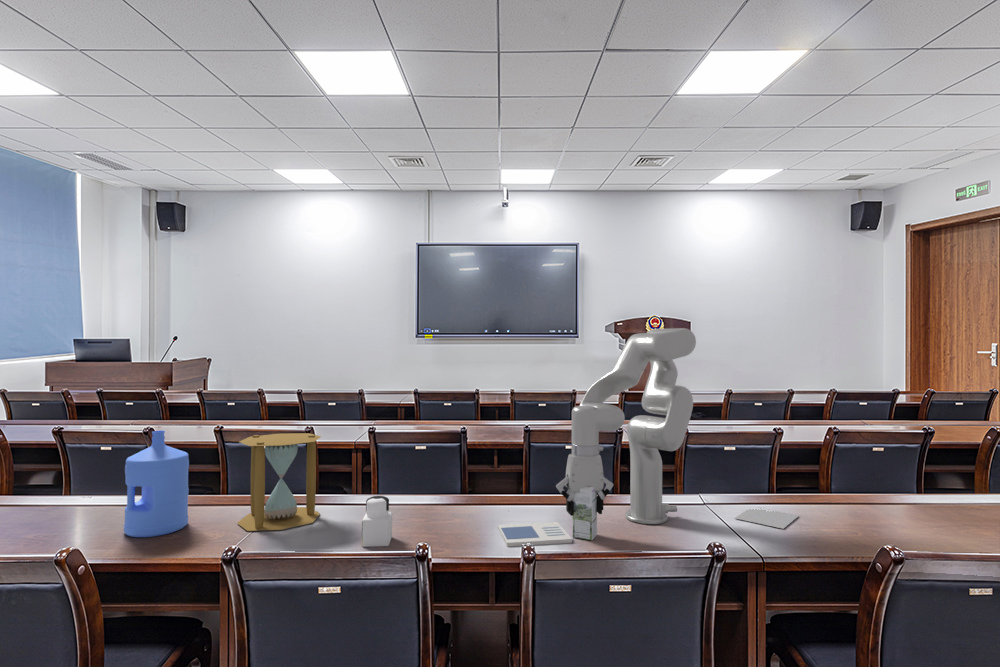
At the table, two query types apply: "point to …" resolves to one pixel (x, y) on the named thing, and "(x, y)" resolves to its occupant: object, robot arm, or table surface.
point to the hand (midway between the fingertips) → (584, 513)
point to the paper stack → (767, 517)
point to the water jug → (157, 490)
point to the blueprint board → (534, 534)
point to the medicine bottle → (377, 523)
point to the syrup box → (585, 514)
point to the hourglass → (281, 501)
